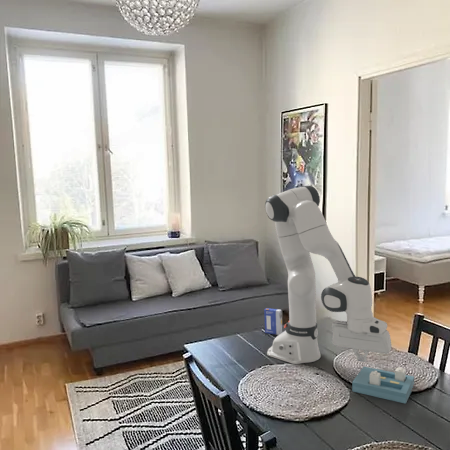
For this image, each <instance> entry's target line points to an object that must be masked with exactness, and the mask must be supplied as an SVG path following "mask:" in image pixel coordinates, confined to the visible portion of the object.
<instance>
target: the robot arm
mask: <svg viewBox="0 0 450 450" xmlns="http://www.w3.org/2000/svg"><path fill="white" fill-rule="evenodd" d="M320 203H321V196H320V193H319V192H318V190H317V189H316V188H315V187H314V186H313V185H302V186H300V187H295V188H294V187H293V188H289V189H287V190H285V191H283V192H282V191H281V192H280V193H277V194H273V195H271V196H269V197H268V198H266V200H265V203H264V208H265V209H264V210H265V213H266V215H267V217H268V219H270V220H271V221H272V222H274V225H275V226H274V227H275V232H276V236H277V241H278V244H279V249H280V252H281V255H282V259H283V261H284V264H285V267H286V270H287V274H288V275H287V276H288V277H287V295H288V296H287V297H288V311H289V312H288V317H289V318H288V319H289V320H288V322H286V323H285V324H284V325H283V329H285V330H284V331H282V333H281V334H279V335H277V336H276V337H275V338H274V339H273V341H272V345H271V346H270V347H268V349H267V352H266V354H267V356H268V357H271V358H275V359H277V360H280V361H284V362H287V363H288V364H289V363H290V364H292V365H299V364H300V365H301V364H304V363H305V364H308V363H312V362H317V361H318V360H319V359H320V358H321V355H322V354H321V352H320V348H319V344H318V333H319V331H318V330H319V328H318V323H317V299H316V298H317V294H316V293H317V290H316V285H317V284H316V271H315V267H314V264H313V263H314V262H313V260H312V256H311V254H314V255H318V256H321V257H324V258H325V259H326V260H328V262H329V264H330V266H331V268H332V269H333V272H334V273H335V276H336V278H337V282H336V283H333V284H330V285H328V286H326V287H325V288H323V290H322V292H321V294H320V295H321V296H320V299H321V303H322V305H323V307H324V308H325V309H326V310H327V311H329V312H331V313H333V312H334V313H343V312H344V313H346V321H345V320H334V321H333V322H332V323H331V329H332V336H331V337H332V339H331V343H332V345H333V346H334V347H340V348H347V349H352V351H353V354H354V355H355V356H356V361H359V362H361V363H363V362H365V363H366V361H367V356H368V354H369V352H371V353H372V352H373V353H379V354H385V355H387V354H389V353H390V352H391V350H392V338H391V335H390V332H389V331H388V330H387V329H388V323H387V322H386V321H384V320H381V319H380V318H379V319H378V318H376V317H374V314H373V310H372V307H373V294H372V288H371V285H370V282H369V280H367V279H366V278H365V277H361V276H356V275H355V273H354V271H353V269H352V268H351V266H350V262H349V261H348V258H347V257H346V255H345V253H344V252H343V250H342V248H341V246H340V244H339V242H338V241H337V240H336V239H335V238H334V236H333V235H332V234H331V231H330V229H329V227H328V224H327V222H326V219H325V217H324V214H323V213H322V211H321V209H320V207H319V206H320ZM359 350H360V351H363V354H360V352H359Z"/></svg>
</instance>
